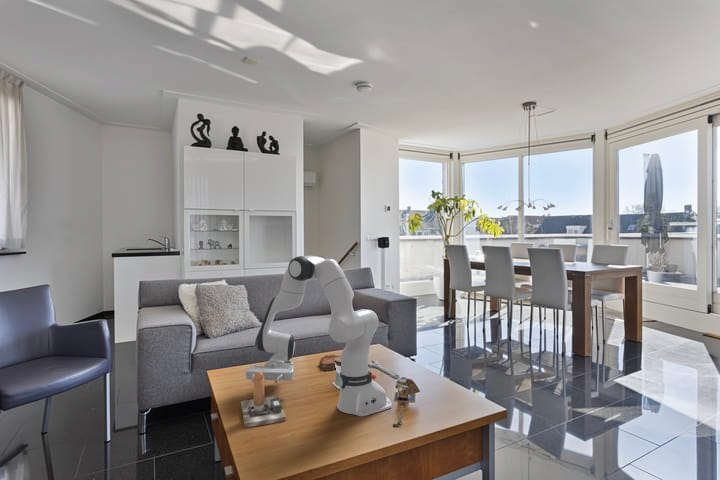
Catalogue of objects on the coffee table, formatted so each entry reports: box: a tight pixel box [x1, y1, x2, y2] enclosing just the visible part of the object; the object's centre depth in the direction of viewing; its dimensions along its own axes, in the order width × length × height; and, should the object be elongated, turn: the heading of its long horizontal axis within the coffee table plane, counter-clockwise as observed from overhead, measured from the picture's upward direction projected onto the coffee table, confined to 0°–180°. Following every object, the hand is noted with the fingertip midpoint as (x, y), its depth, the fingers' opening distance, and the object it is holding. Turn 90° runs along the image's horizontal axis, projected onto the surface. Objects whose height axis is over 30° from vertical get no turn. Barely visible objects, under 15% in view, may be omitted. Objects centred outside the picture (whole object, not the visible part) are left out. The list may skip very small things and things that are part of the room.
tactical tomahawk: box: [392, 400, 406, 428], centre depth 151 cm, size 21×7×1 cm, turn 167°
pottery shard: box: [319, 354, 341, 372], centre depth 207 cm, size 16×16×4 cm
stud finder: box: [271, 397, 282, 413], centre depth 153 cm, size 3×7×2 cm, turn 21°
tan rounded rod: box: [253, 372, 265, 413], centre depth 150 cm, size 4×4×15 cm
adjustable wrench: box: [368, 360, 400, 379], centre depth 199 cm, size 25×6×2 cm, turn 26°
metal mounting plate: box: [240, 395, 287, 429], centre depth 153 cm, size 15×20×2 cm
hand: (264, 380), depth 157 cm, fingers open, 8 cm apart
